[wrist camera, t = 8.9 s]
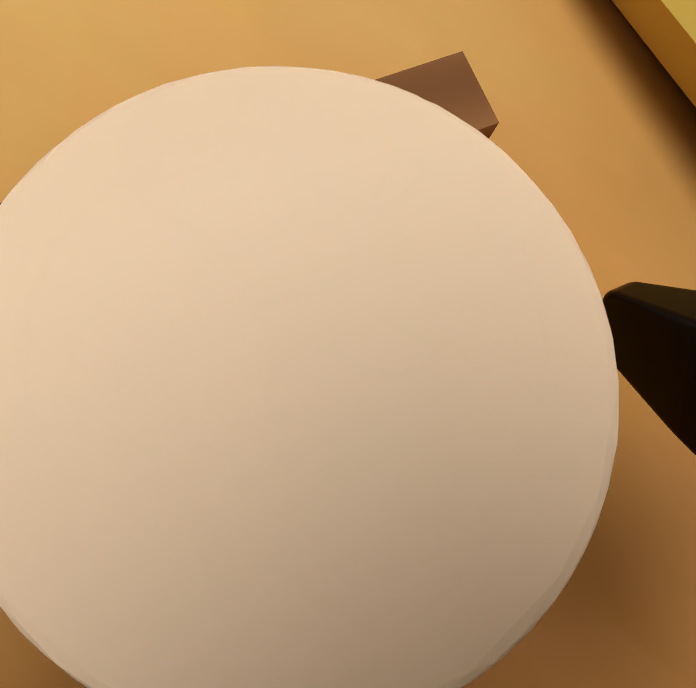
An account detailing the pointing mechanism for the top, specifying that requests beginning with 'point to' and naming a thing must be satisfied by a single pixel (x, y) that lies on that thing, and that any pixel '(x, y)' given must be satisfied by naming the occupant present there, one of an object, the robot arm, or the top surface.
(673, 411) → the robot arm
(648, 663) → the top surface
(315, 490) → the supplement bottle
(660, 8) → the plastic component
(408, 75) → the walnut holder rail
